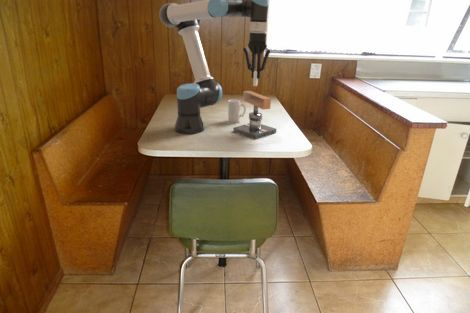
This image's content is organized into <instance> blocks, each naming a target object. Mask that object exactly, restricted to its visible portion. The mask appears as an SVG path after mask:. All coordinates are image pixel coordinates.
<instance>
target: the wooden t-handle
mask: <svg viewBox="0 0 470 313" xmlns="http://www.w3.org/2000/svg"><path fill="white" fill-rule="evenodd" d="M242 95H243V96H242V99H243V100H242V101H243V102H244V103H245V102H246V103H248V104H250V105H253V112H249V113H248V119H249V121H250V120H261V121H262V120H263V113H261V112H259V109H261V110H270V109H271V102H272V99H271V98H270V97H268V96H265V95H263V94H259V93H257V92H255V91H252V90H243V94H242Z"/></svg>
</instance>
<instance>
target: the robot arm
mask: <svg viewBox="0 0 470 313" xmlns="http://www.w3.org/2000/svg"><path fill="white" fill-rule="evenodd" d="M158 12H159V13H158V14H159V15H158V16H159V20H160V21H161V23H162V24H163V25H164V26H165V27H167V28H171V29H177V32H178V34H179V35H180V36H181V37H182V39H183V44H184V46H185V50H186V53H187V56H188V61H189V63H190V64H189V65H190V67H191V71H192V73H193V77H194V82H193V83H191V82H190V83H183V84H181V85H179V86H178V87H177V88H176V102H177V103H176V104H177V117H176V121H175V124H174V130H175V132H177V133H180V134H184V135H185V134H186V135H192V134H199V133H201V132H203V131H204V130H205V126H204V122H203V119H202V116H201V109H202V108H206V107H211V106H214V105H216V104H219V103H220V101H221V100H222V97H223V89H222V86H221V84H219V82H216V81H215V78H214V77H213V76H211V73H210V70H209V69H210V68H209V66H208V62H207V59H206V56H205V55H206V54H205V53H204V49H203V45H202V44H203V43H202V42H201V38H200V34H199V30H200V29H201V28H200V25H201V24H202V20H207V19H216V18H249V38H248V44H247V46H246V47H244V48H242V50H243V52H244V54H245V55H244V56H245V59H246V65H247V70H249V71H251V79H253V80H252V82H253V83H252V86H253V87H257V86H258V84H259V83H258V82H259V79H260V78H261V72H263V71H264V70H265V69H266V65H267V63H268V59H269V55H270V54H271V52H272V48H269V47H268V45H267V33H266V32H267V31H268V12H269V0H199V1H198V0H197V1H192V2H187V3H177V2H168V3H164V4H163V5H162V6H161V7H160V9H159V11H158ZM264 52H265V54H264V57H262V56H263V53H264ZM250 53H251V54H250ZM262 58H263V60H262Z"/></svg>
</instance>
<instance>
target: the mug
mask: <svg viewBox="0 0 470 313" xmlns="http://www.w3.org/2000/svg"><path fill="white" fill-rule="evenodd" d="M227 101H228V102H227V105H228V106H227V107H228V122H229V123H232V124H233V123H239V122H240V118H241V117H242V118H243V117H244V116H245V113H246V109H247V108H246V105H245V102H242V103H241V100H240V99H235V98H234V99H233V98H232V99H229V100H227ZM241 106H242V107H243V112H242V113H240V110H241Z"/></svg>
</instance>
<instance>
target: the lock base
mask: <svg viewBox="0 0 470 313" xmlns="http://www.w3.org/2000/svg"><path fill="white" fill-rule="evenodd" d="M232 128H233V132H235V133H236V134H237V133H238V134H240V135H243V136H246V137H248V138H250V139H254V140H256V139H257V140H258V139H261V138H262V137H266V136H269V135H273V134H276V133H277V128H276V127H275V128H274V127H272V126H269V125H265V124H263V123H262V119H261V120H250V119H249V123H244V124H243V125H238V126H234V127H232Z"/></svg>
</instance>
